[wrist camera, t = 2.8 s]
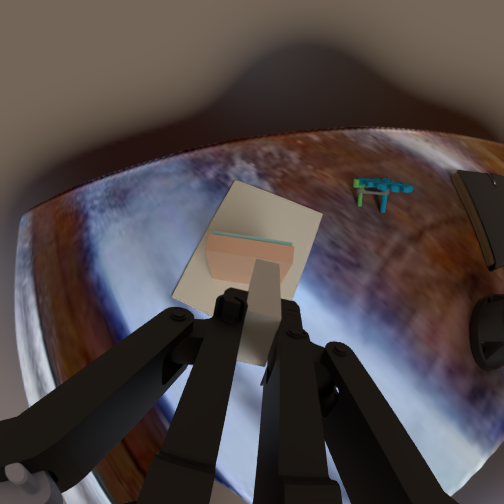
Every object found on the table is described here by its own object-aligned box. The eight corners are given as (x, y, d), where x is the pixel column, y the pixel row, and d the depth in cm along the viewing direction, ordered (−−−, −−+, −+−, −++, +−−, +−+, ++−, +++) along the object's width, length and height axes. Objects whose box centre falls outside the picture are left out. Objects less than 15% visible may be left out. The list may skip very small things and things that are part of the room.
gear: (399, 177, 45) (423, 186, 36) (396, 207, 47) (418, 221, 38) (346, 172, 46) (361, 179, 37) (344, 203, 48) (358, 217, 39)
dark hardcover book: (511, 176, 50) (541, 248, 42) (504, 182, 54) (532, 253, 45) (457, 168, 46) (498, 267, 38) (448, 177, 50) (486, 273, 42)
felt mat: (321, 215, 42) (322, 214, 42) (274, 342, 34) (275, 342, 34) (235, 181, 44) (235, 179, 43) (172, 297, 36) (171, 296, 35)
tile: (278, 288, 37) (292, 263, 28) (212, 278, 37) (205, 250, 28) (279, 271, 38) (294, 242, 29) (215, 262, 38) (209, 229, 29)
